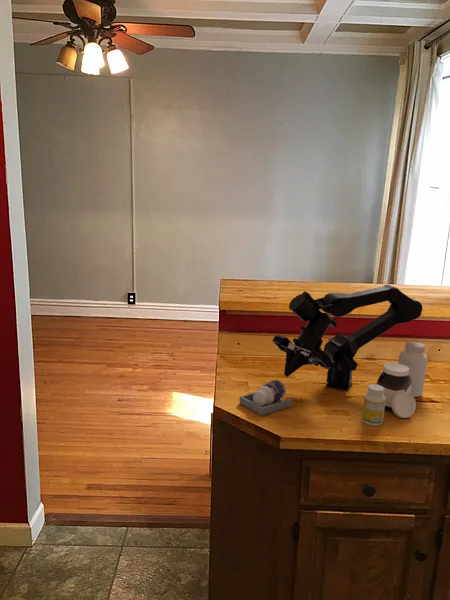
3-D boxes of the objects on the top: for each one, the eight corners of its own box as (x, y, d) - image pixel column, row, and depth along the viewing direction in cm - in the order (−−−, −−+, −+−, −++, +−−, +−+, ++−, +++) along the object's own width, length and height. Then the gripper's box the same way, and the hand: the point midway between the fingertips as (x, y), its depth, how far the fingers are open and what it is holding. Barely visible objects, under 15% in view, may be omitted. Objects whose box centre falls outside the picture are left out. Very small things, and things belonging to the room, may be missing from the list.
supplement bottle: (377, 428, 137) (381, 393, 134) (358, 421, 140) (361, 387, 138) (386, 421, 141) (390, 387, 139) (367, 414, 144) (371, 381, 142)
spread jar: (388, 396, 156) (392, 359, 153) (425, 410, 149) (430, 370, 146) (365, 408, 148) (370, 368, 145) (404, 423, 140) (409, 381, 137)
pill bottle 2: (420, 389, 163) (428, 342, 159) (423, 399, 155) (431, 350, 152) (393, 385, 165) (400, 338, 161) (394, 395, 157) (402, 346, 154)
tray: (269, 394, 154) (269, 387, 154) (291, 406, 147) (292, 399, 147) (239, 403, 147) (239, 396, 147) (261, 416, 141) (261, 408, 140)
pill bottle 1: (289, 387, 149) (270, 398, 141) (281, 401, 151) (262, 413, 144) (275, 375, 151) (255, 385, 143) (267, 389, 153) (247, 400, 146)
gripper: (351, 354, 153) (323, 400, 149) (302, 336, 167) (275, 378, 163) (335, 333, 146) (305, 381, 142) (285, 317, 160) (257, 360, 156)
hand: (285, 375), depth 151 cm, fingers closed
